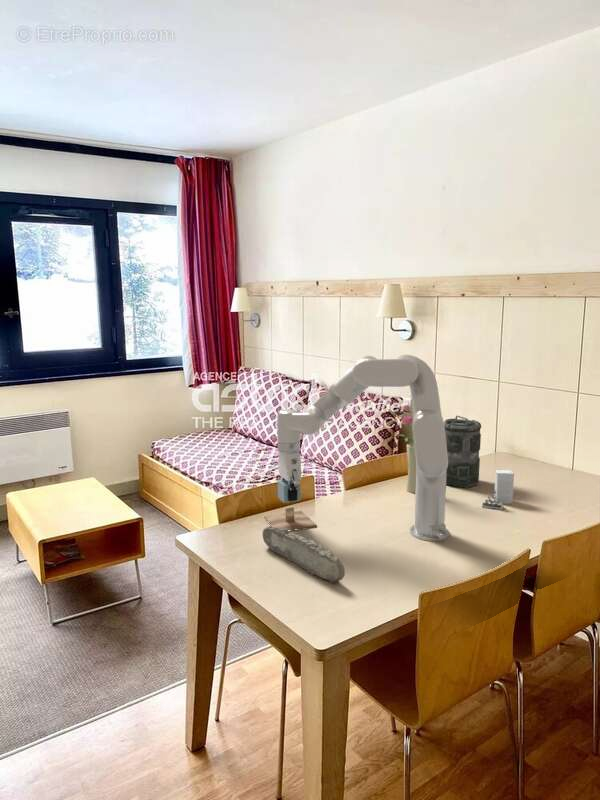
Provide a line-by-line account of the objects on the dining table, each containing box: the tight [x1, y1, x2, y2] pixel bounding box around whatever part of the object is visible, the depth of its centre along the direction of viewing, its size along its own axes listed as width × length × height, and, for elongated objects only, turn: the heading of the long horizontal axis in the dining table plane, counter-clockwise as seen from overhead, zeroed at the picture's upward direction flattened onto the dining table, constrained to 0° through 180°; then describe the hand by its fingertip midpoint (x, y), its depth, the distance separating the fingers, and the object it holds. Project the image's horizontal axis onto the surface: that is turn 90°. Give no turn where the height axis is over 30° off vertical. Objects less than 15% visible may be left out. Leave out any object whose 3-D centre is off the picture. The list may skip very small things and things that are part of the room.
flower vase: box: [393, 404, 416, 494], centre depth 228 cm, size 12×12×35 cm
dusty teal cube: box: [277, 479, 302, 504], centre depth 198 cm, size 6×6×6 cm
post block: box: [263, 506, 318, 531], centre depth 200 cm, size 14×14×6 cm
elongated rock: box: [262, 525, 346, 584], centre depth 169 cm, size 35×5×10 cm, turn 42°
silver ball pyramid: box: [481, 488, 504, 511], centre depth 215 cm, size 9×9×8 cm
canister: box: [444, 414, 482, 489], centre depth 241 cm, size 16×16×28 cm
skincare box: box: [493, 469, 515, 505], centre depth 219 cm, size 6×4×12 cm
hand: (289, 496), depth 199 cm, fingers closed on dusty teal cube, 6 cm apart
